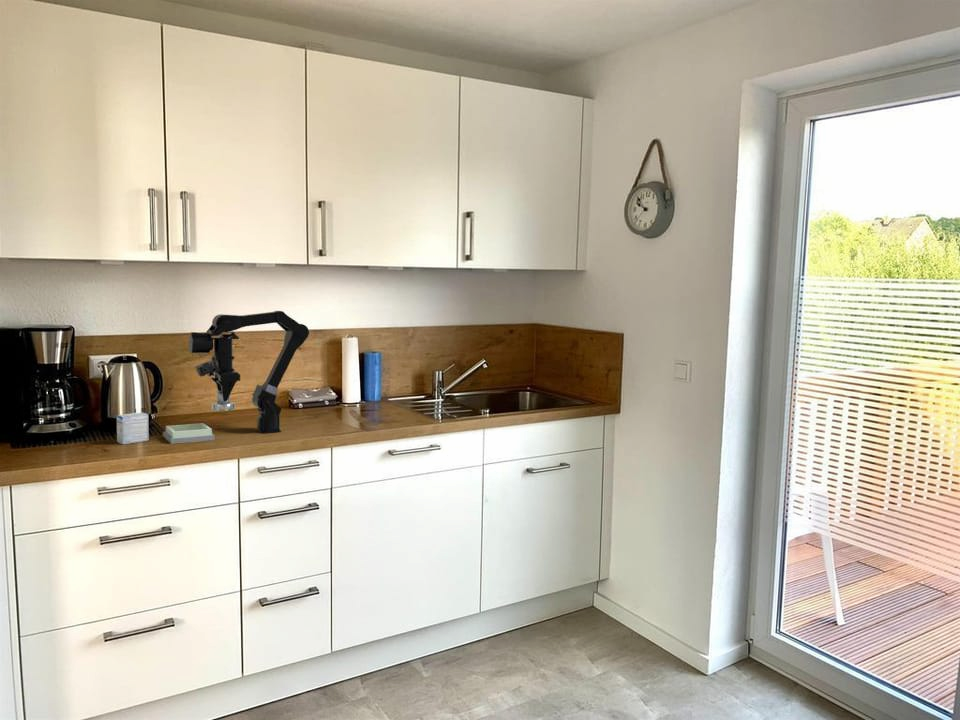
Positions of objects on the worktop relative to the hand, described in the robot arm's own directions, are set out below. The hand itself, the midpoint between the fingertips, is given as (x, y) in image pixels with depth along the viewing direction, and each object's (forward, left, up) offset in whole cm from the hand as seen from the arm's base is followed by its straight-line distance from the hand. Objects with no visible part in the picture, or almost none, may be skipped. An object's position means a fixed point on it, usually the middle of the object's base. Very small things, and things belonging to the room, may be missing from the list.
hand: (223, 400), depth 232 cm
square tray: (+11, 0, -12) cm, 16 cm away
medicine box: (+27, -2, -12) cm, 30 cm away
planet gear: (0, 0, -3) cm, 3 cm away
